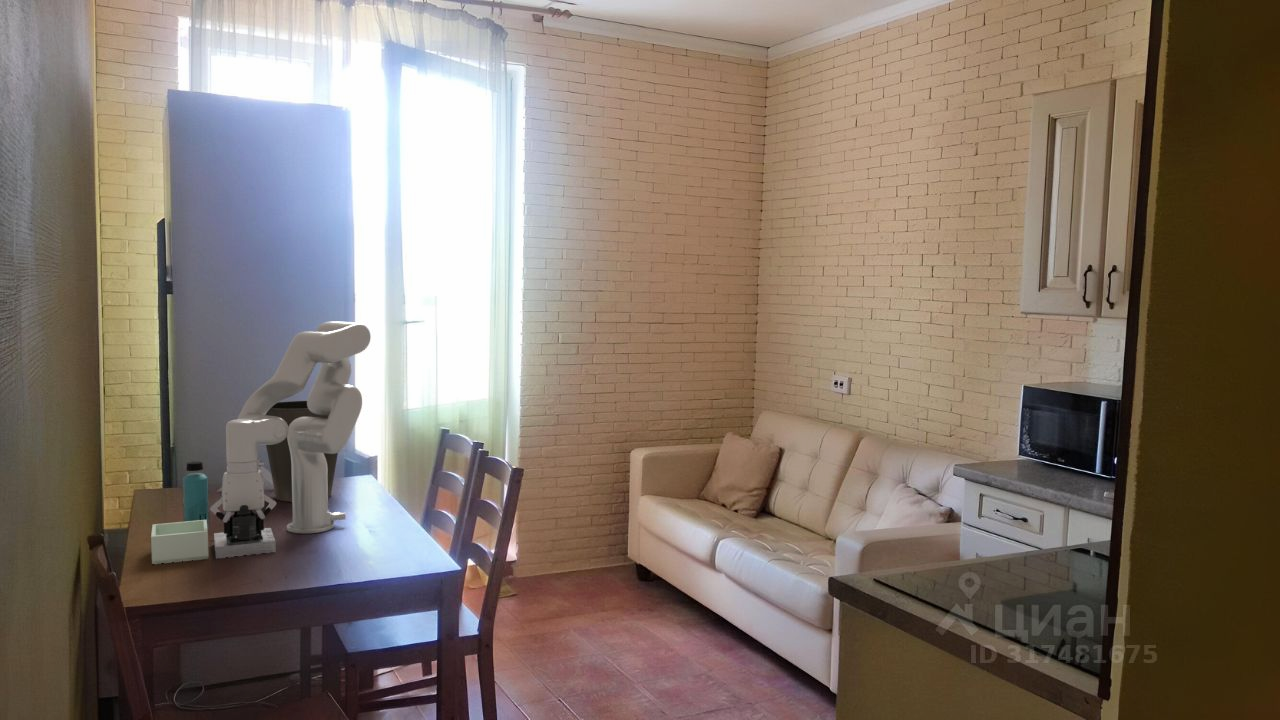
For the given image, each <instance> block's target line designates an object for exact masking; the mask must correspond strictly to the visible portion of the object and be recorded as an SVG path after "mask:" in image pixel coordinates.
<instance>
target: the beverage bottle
mask: <svg viewBox="0 0 1280 720" xmlns="http://www.w3.org/2000/svg"><path fill="white" fill-rule="evenodd" d="M203 465H204V464H203V462H202V461H197V460H196V461H190V462H187V463H186V469H185V470H186V471H187V472H193V473H187V474H186V475H185V476H184V477H183V478H182V489H183V493H182V494H183V495H182V497H183V507H182V508H183V521H182V522H186V521H197V520H207V529H208V530H209V528H210V525H211V524H210V507H209V506H210V505H209V492H210V491H209V485H208V484H209V482H208V476H207V475H206V474H205V473H202V472H198V471H203V470H204V466H203Z"/></svg>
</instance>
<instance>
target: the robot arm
mask: <svg viewBox="0 0 1280 720" xmlns="http://www.w3.org/2000/svg"><path fill="white" fill-rule="evenodd" d="M371 336H372V335H371V332H370V330H369V328H368V326H366V325H365V324H363V323H362V322H357V321H356V322H355V321H354V322H352V321H334V320H333V321H325V322H323V323H320V324H319V325H318V326H317V328H316V331H301V332H298V333H297V334H295V336H293V337H292V339H291V342H290V344H289V346H288V347H287V349H286V351H285V353H284V356H283V357H282V359H281V361H280V363H279V365H278V367H277V368H276V369H277V370H276V371H275V373H274V374H273V376H272V377H271V378H270V379H268V380H267V381H266V382H264V383H263V384H262V385H261V386H260V387H258V388H257V389H256V391H253V393H252V394H251V395H250V396H249V397H248V398H247V400H246V401H245V403H244V404H243V406H242V409H241V410H240V413H239V415H238V416H237V419H232V420H229V421H227V423H226V425H225V438H226V439H225V444H226V447H225V448H226V452H225V455H226V471H225V472H224V473H223V476H222V481H221V496H220V497H219V498H218V499H217V500H216V501H215V502H214V503H212V505H209V506H210V507H209V511H211V512H212V514H214V515H215V516H216V517H217V518H218V519H220V520H221V521H222V523H223V532H224V534H227V538H229V537H230V516H231V515H232V514H233V513H234V512H236V511H240V506H241V505H248V510H253V511H255V513H256V514H257V515H258V534H259V535H260V534H261V530H264V528H265V524H264V522H265V519H266V516H267V515H269V514H270V513H271V511H272V510H273V509H274V508H275V507H276V506H277V501H276V500H274V499H273V498H272V497H271V496H269V495H268V494H266V493H265V487H264V479H263V473H262V470H261V469H260V468H262V467H265V461H264V460H263V461H262V460H259V446H266V445H273V444H278V443H280V442H282V441H283V440H284V439H285V438H286V437H287V440H288V445H289V449H290V454H291V465H292V502H291V503H292V504H291V505H292V508H291V509H292V510H291V512H292V522H289V523H288V524H287V525H286V530H287V531H288V532H290V533H295V534H303V535H304V534H315V533H323V532H327V531H329V530H332V529H333V528H334V527H335V521H338V520H339V521H341V520H346V517H347V516H346V512H340V511H337V512H336V511H335V512H330V509H329V497H328V479H327V473H328V469H327V461H326V458H325V456H324V453H328V454H335V453H338V454H339V453H340V452H341V451H343V450H344V448H346V446H347V444H348V442H349V440H350V438H351V436H352V434H353V431H354V428H355V426H356V423H357V422H358V419H359V416H360V414H361V410H362V407H363V397H362V394H361V391H360V390H359V389H358V388H357V387H356V386H354V385H352V384H349V380H350V377H351V374H352V364H351V361H350V357H353V356H355V355H358V354H360V353H362V352H364V351H365V350H366V349H367V348H368V347H369V345H370V342H371ZM318 363H321V367H320V368H319V371H318V374H317V376H316V378H315V381H314V383H313V385H312V388H311V389H310V392H309V394H308V397H307V400H306V401H307V407H308V409H309V410H310V411H311V412H312V413H314V414H317V415H322V416H329V417H328V419H325V418H318V417H300V418H297V419H295V420H294V421H293V422H292V423H291V424H290V425H289V427H288V425H287V423H286V422H285V421H284V420H283V419H282V418H279V417H276V416H268V415H266V413H267V412H268V410H269V409H270V408H271V407H272V406H273V405H275V404H276V403H278V402H282V401H284V400H285V399H288V398H290V397H293V396H295V395H297V394H299V393H301V392H302V391H303V390H304V389H305V388H306V385H307V383H308V381H309V379H310V377H311V375H312V373H313V371H314V369H315V367H316V365H317V364H318ZM265 502H267V503H268V505H267V506H266V507H265ZM221 506H222V511H224V513H223V512H222V511H220V510H219V509H218V508H219V507H221ZM263 508H264V509H263Z"/></svg>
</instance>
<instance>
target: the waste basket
mask: <svg viewBox="0 0 1280 720" xmlns="http://www.w3.org/2000/svg"><path fill="white" fill-rule="evenodd" d="M266 415H268V416H276V417H279V418H282V419H283V420H284V421H285V422H286V423H287V425H288V427H289V425H290V424H291V423H292V422H293V421H294V420H295V419H297V418H300V417H318V418H325V419H328V417H329V416H322V415H317V414H314V413H312V412H311V411H310V410H309V409H308V407H307V400H292V401H291V400H290V401H289V400H288V401H279V402H278V403H276V404H275V405H273V406H272V407H271V408H270V409H269V410H268V412H267V413H266ZM265 447H266V453H267V459H268V463H269V468H270V473H271V474H270V475H271V480H272V483H273V484H272V485H273V490H274V495H275V499H276V500H279V501H280V502H281V501H282V502H289V503H292V465H291V454H290V449H289V445H288V440H287V437H286V438H285V439H284V440H283V441H282V442H280V443H278V444H273V445H265ZM338 454H339V452H338V453H335V454H328V453H324V456H325V458H326V461H327V469H328V473H327V479H328V498H329V497H331V495H332V490H333V484H334V479H335V478H334V477H335V472H336V468H337V467H336V466H337V461H338V460H337V459H338Z"/></svg>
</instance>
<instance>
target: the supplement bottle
mask: <svg viewBox="0 0 1280 720" xmlns="http://www.w3.org/2000/svg"><path fill="white" fill-rule="evenodd" d="M229 520H230V543H233V542H243V541H253V540H258V513H257V512H256V511H254V510H248V505H241V506H240V511H236V512H232V513H231V515H230V517H229Z"/></svg>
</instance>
